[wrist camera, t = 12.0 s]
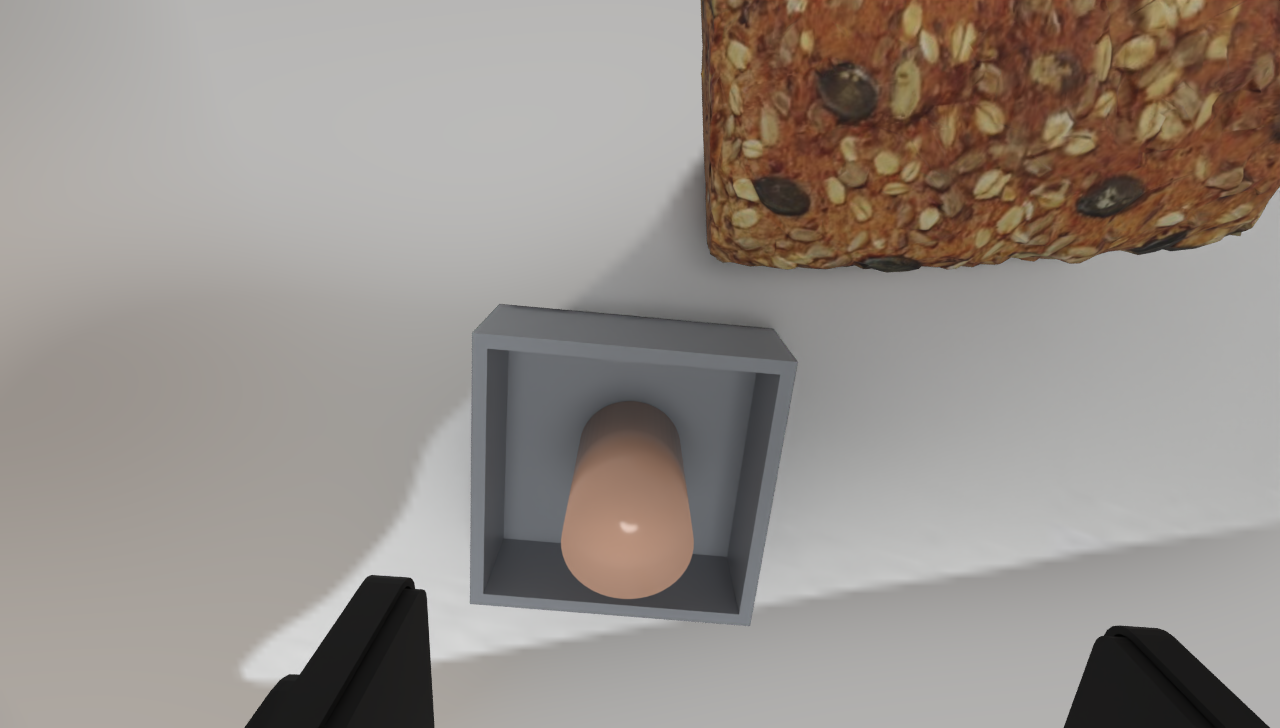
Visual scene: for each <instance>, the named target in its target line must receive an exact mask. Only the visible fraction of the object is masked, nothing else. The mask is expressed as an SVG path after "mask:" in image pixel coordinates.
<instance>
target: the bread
mask: <svg viewBox="0 0 1280 728" xmlns="http://www.w3.org/2000/svg"><path fill="white" fill-rule="evenodd" d="M701 18H702V43H703V50H702V73H701V76H702V102H703V103H702V107H703V141H704V166H705V181H706V223H707V244H708V249H709V250H710V254H711V255H713V256H714V257H716V259H717V260H719V261H721V262H723V263H725V262H734V263H738V264H742V265H746V266H767V267H774V268H781V269H793V268H796V267H802V268H814V269H830V268H836V267H842V266H843V267H848V266H853V265H856V266H858V267H860V268H862V269H870V268H872V269H876V270H879V271H883V272H900V271H910V270H915V269H919V268H920V267H921V266H928V267H941V268H944V269H956V268H958V267H960V266H966V267H974V266H977V265H979V264H992V265H995V264H1001V263H1002V262H1004V261H1006V260H1007V259H1009V258H1011V257H1013V258H1019V259H1021V260H1027V261H1036V260H1037V259H1039V258H1041V259H1058V260H1061V261H1064V262H1067V263H1081V262H1083V261H1086V260H1088V259H1090V258H1092V257H1094V256H1096V255H1098V254H1101V253H1105V252H1108V251H1118V250H1121V251H1126V252H1130V253H1133V254H1137V255H1141V254H1146V253H1151V252H1156V251H1159V250H1161V249H1164V250H1168V251H1177V250H1186V249H1194V248H1198V247H1201V246H1205V245H1208V244H1211V243H1215V242H1218V241H1220V240H1221V239H1222V238H1223V237H1225V236H1228V235H1236V236H1241V232H1243V231H1246V230H1248V229H1251V228H1252V227H1253V226H1254V224H1255V223H1256V222H1257V220H1258V219H1259V217H1260V216H1261V214H1262V212H1263V210H1264V209H1265V207H1266V205H1267V203H1268V201H1269V200H1270V198H1271V197H1272V196H1273V194H1274V193H1275V192H1276V191H1277V189H1278V188H1279V187H1280V0H701Z"/></svg>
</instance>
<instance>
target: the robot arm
mask: <svg viewBox="0 0 1280 728" xmlns="http://www.w3.org/2000/svg"><path fill="white" fill-rule="evenodd" d="M245 728H434V712H433V695H432V678H431V661H430V644H429V627H428V610H427V596H426V592H425V590H421V589H415V585H414V582H413V580H412V579H411V578H407V577H392V576H378V575H370V576H368V577H367V578H366V579H365V580H364V581H363V583H362V584H361V586H360V587H359V588H358V590H357V591H356V593H355V594H354V596H353V597H352V599H351V600H350V602H349V603H348V605H347V606H346V608H345V609H344V610H343V612H342V613H341V615H340V616H339V618H338V619H337V621H336V622H335V624H334V625H333V627H332V628H331V630H330V631H329V633H328V634H327V635H326V637H325V638H324V640H323V641H322V643H321V644H320V646H319V647H318V649H317V650H316V652H315V653H314V655H313V656H312V657H311V659H310V660H309V662H308V663H307V665H306V666H305V668H304V669H303V671H302V672H301V674H300V675H295V674H289V675H287V676H286V677H284V678H282V679H281V680H280V681H279V682H278V683H277V684H276V685H275V687H274V688H273V689H272V690H271V691H270V693H269V694H268V695H267V697H266V698H265V700H264V701H263V702H262V704H261V706H260V707H259V708H258V709H257V711H256V712H255V714H254V715H253V716H252V718H251V719H250V721H249V722H248V724H247V725H246V726H245ZM1064 728H1270V727H1269V726H1267V725H1266V724H1265V723H1264V722H1263V721H1262V720H1261V719H1260V718H1259V717H1258V716H1257V715H1256V714H1255V713H1254V712H1253V711H1252V710H1250V708H1248V707H1247V706H1246V705H1245V704H1244V703H1243V702H1242V701H1241V700H1240V699H1239V698H1238V697H1237V696H1236V695H1235V694H1234V693H1233V692H1232V691H1230V690H1229V689H1228V688H1227V687H1226V686H1225V685H1224V684H1223V683H1222V682H1221V681H1220V680H1219V679H1218V678H1217V677H1216V676H1214V674H1212V673H1211V672H1210V671H1209V670H1208V669H1207V668H1206V667H1205V666H1204V665H1203V664H1202V663H1201V662H1200V661H1199V660H1198V659H1197V658H1195V656H1193V655H1192V654H1191V653H1190V652H1189V651H1188V650H1187V649H1186V648H1185V647H1184V646H1183V645H1182V644H1181V643H1180V642H1179V641H1178V640H1177V639H1175V638H1174V637H1173V636H1172V635H1171V634H1169V633H1168V632H1166V631H1164V630H1161V629H1158V628H1146V627H1132V626H1112V627H1111V628H1110V629H1108V630H1107V631H1106V633H1105V635H1104V636H1101V637H1099V638H1098V639H1097V640H1096V642H1095V643H1094V645H1093V648H1092V651H1091V654H1090V657H1089V659H1088V662H1087V665H1086V668H1085V671H1084V673H1083V676H1082V679H1081V682H1080V684H1079V687H1078V690H1077V692H1076V695H1075V698H1074V701H1073V703H1072V707H1071V709H1070V712H1069V715H1068V717H1067V720H1066V723H1065V726H1064Z"/></svg>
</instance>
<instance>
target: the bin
mask: <svg viewBox="0 0 1280 728" xmlns="http://www.w3.org/2000/svg"><path fill="white" fill-rule="evenodd" d="M797 363H798V362H797V360H796V359H795V358H794V356H793V355H792V354H791V352H790V351H789V349H788V348H787V347H786V345H785V344H784V343H783V341H782V340H781V339H780V337H779V336H778V334H777V333H776V332H775V330H774V329H769V328H758V327H747V326H736V325H725V324H714V323H703V322H692V321H681V320H670V319H659V318H648V317H637V316H626V315H615V314H604V313H593V312H582V311H571V310H560V309H549V308H538V307H527V306H516V305H505V304H499V305H498V306H497V307H496V308H495V309H494V310H493V311H492V312H491V314H490V315H489V316H488V317H487V318H486V319H485V320H484V321H483V322H482V323H481V324H480V325H479V326H478V327H477V328H476V329H475V330H474V331H473V333H472V421H471V542H470V604H479V605H491V606H504V607H516V608H529V609H541V610H554V611H567V612H579V613H592V614H604V615H617V616H629V617H642V618H655V619H667V620H680V621H692V622H705V623H717V624H731V625H743V626H750V623H751V618H752V612H753V607H754V601H755V596H756V590H757V585H758V579H759V574H760V568H761V563H762V557H763V552H764V546H765V540H766V535H767V529H768V524H769V518H770V513H771V507H772V502H773V496H774V491H775V485H776V480H777V474H778V468H779V463H780V457H781V452H782V446H783V441H784V435H785V430H786V424H787V419H788V413H789V408H790V402H791V396H792V391H793V385H794V380H795V374H796V369H797ZM624 401H636V402H642V403H646V404H649V405H651V406H654V407H656V408H657V409H659V410H661V411H662V412H663V413H665V414H666V415H667V416H668V417H669V418H670V420H671V421H672V422H673V424H674V425H675V427H676V429H677V431H678V434H679V438H680V444H681V451H682V458H683V465H684V473H685V480H686V487H687V494H688V501H689V509H690V516H691V523H692V530H693V538H694V549H693V554H692V558H691V560H690V563H689V565H688V567H687V569H686V570H685V572H684V573H683V574H682V576H681V577H680V578H679V579H678V580H677V581H676V582H675V583H673V584H672V585H671V586H670V587H668V588H666V589H665V590H663V591H661V592H659V593H656V594H654V595H651V596H648V597H643V598H636V599H619V598H613V597H608V596H605V595H602V594H599V593H597V592H595V591H593V590H591V589H589V588H588V587H586V586H584V585H583V584H582V583H581V582H580V581H578V580H577V578H576V577H575V576H574V575H573V574H572V573H571V571H570V570H569V568H568V566H567V565H566V563H565V560H564V557H563V554H562V549H561V537H562V530H563V525H564V520H565V515H566V510H567V505H568V500H569V494H570V489H571V484H572V479H573V474H574V469H575V464H576V458H577V453H578V448H579V443H580V438H581V434H582V431H583V429H584V427H585V425H586V424H587V422H588V421H589V420H590V418H591V417H592V416H593V415H594V414H595V413H596V412H598V411H599V410H601V409H602V408H604V407H606V406H608V405H611V404H614V403H618V402H624Z"/></svg>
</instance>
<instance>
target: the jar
mask: <svg viewBox="0 0 1280 728" xmlns="http://www.w3.org/2000/svg"><path fill="white" fill-rule="evenodd" d="M561 549H562V554H563V557H564V560H565V563H566V565H567V566H568V568H569V570H570V571H571V573H572V574H573V575H574V576H575V577H576V578H577V580H578V581H580V582H581V583H582V584H583V585H584V586H586V587H588V588H589V589H591V590H593V591H595V592H597V593H599V594H602V595H605V596H608V597H613V598H619V599H636V598H643V597H648V596H651V595H654V594H656V593H659V592H661V591H663V590H665V589H666V588H668V587H670V586H671V585H672V584H673V583H675V582H676V581H677V580H678V579H679V578H680V577H681V576H682V574H683V573H684V572H685V570H686V569H687V567H688V565H689V563H690V560H691V558H692V554H693V549H694V538H693V530H692V523H691V516H690V509H689V501H688V494H687V487H686V480H685V473H684V465H683V458H682V451H681V444H680V438H679V434H678V431H677V429H676V427H675V425H674V424H673V422H672V421H671V420H670V418H669V417H668V416H667V415H666V414H665V413H663V412H662V411H661V410H659V409H657V408H656V407H654V406H651V405H649V404H646V403H642V402H636V401H624V402H618V403H614V404H611V405H608V406H606V407H604V408H602V409H601V410H599V411H598V412H596V413H595V414H594V415H593V416H592V417H591V418H590V420H589V421H588V422H587V424H586V425H585V427H584V429H583V431H582V434H581V438H580V443H579V448H578V453H577V458H576V464H575V469H574V474H573V479H572V484H571V489H570V494H569V500H568V505H567V510H566V515H565V520H564V525H563V530H562V537H561Z"/></svg>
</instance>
